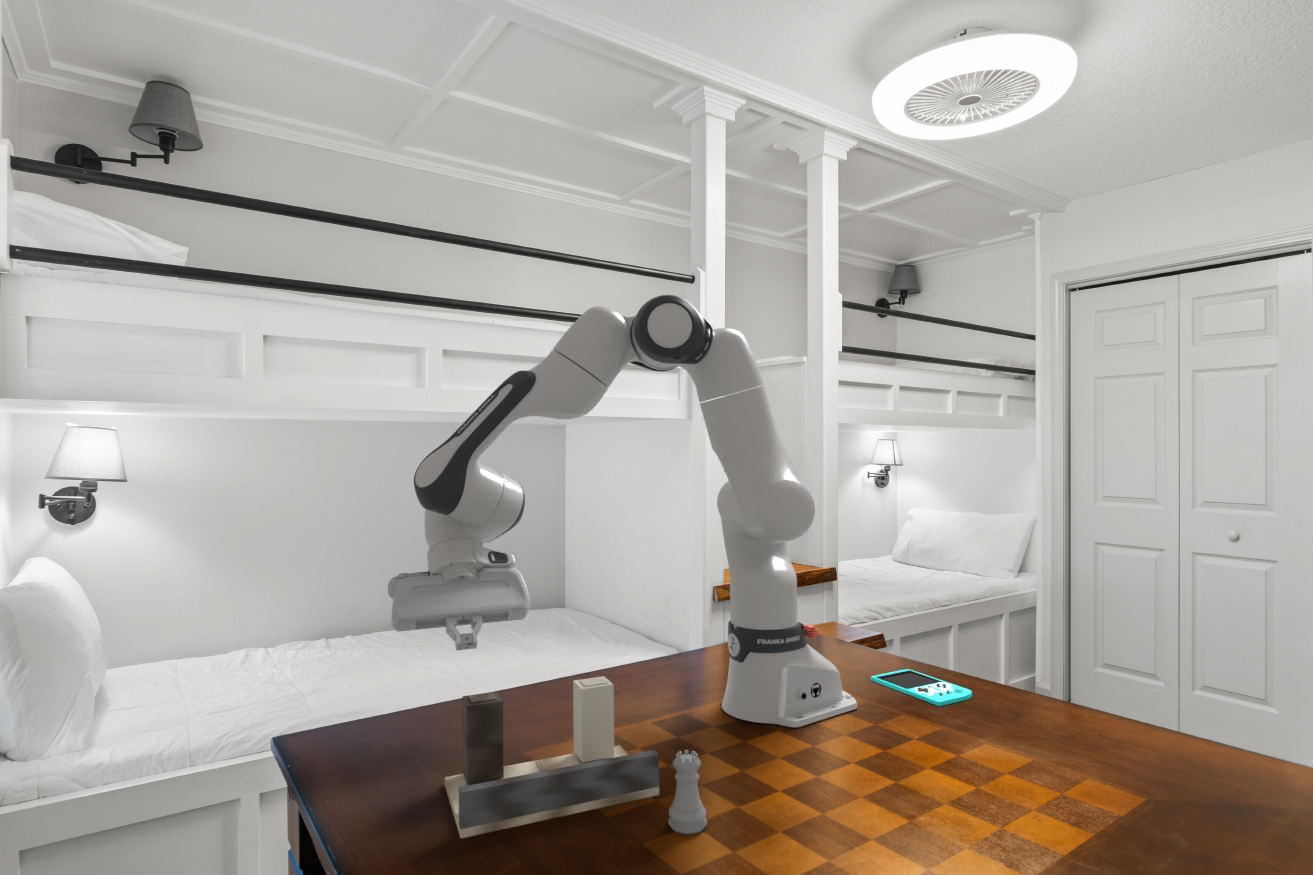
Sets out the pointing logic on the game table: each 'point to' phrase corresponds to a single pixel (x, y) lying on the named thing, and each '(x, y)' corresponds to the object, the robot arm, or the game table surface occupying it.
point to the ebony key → (482, 737)
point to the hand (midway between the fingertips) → (466, 647)
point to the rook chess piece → (687, 796)
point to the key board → (551, 790)
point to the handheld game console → (923, 687)
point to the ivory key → (593, 718)
